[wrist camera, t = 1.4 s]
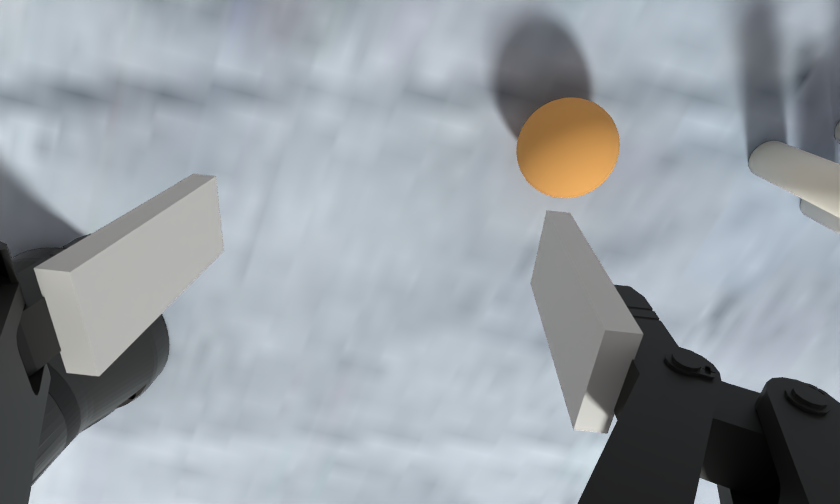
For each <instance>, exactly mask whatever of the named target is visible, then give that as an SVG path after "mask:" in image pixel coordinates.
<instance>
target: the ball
mask: <svg viewBox="0 0 840 504" xmlns="http://www.w3.org/2000/svg"><path fill="white" fill-rule="evenodd" d="M619 147H620V142H619V134H618V131H617V128H616V125H615V123H614V121H613V120H612V118H611V117H610V115H609V114H608V113H607V112H606V111H605V110H604V109H603V108H602V107H600V106H599V105H597V104H595V103H593V102H591V101H588V100H585V99H582V98H573V97H569V98H561V99H557V100H554V101H551V102H549V103H547V104H545V105H543V106H541V107H540V108H539V109H537V110H536V111H535V112H534V113H533V114H532V115H531V116H530V117H529V118H528V119H527V121H526V122H525V124H524V126H523V127H522V129H521V132H520V134H519V137H518V142H517V160H518V164H519V168H520V170H521V172H522V174H523V176H524V177H525V179H526V180H527V181H528V182H529V183H530V185H532V186H533V187H534V188H535V189H537V190H538V191H540V192H542V193H544V194H546V195H549V196H552V197H557V198H573V197H578V196H581V195H584V194H587V193H589V192H591V191H592V190H594V189H596V188H597V187H598V186H600V185H601V184H602V183H603V182H604V181H605V180H606V179H607V178H608V176H609V175H610V174H611V172H612V171H613V169H614V167H615V165H616V162H617V159H618V155H619Z"/></svg>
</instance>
